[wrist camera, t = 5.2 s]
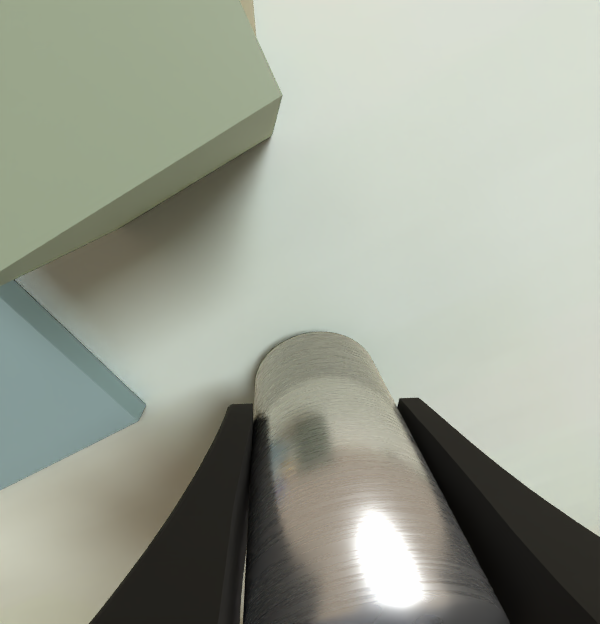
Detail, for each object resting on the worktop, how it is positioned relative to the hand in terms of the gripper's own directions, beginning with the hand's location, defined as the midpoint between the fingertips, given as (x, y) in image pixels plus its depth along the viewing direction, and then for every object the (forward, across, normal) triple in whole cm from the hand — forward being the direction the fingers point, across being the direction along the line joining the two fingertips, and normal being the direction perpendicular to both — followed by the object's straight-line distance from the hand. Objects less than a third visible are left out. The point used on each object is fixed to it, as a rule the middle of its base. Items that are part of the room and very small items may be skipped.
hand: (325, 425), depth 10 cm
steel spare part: (+2, 0, 0) cm, 2 cm away
